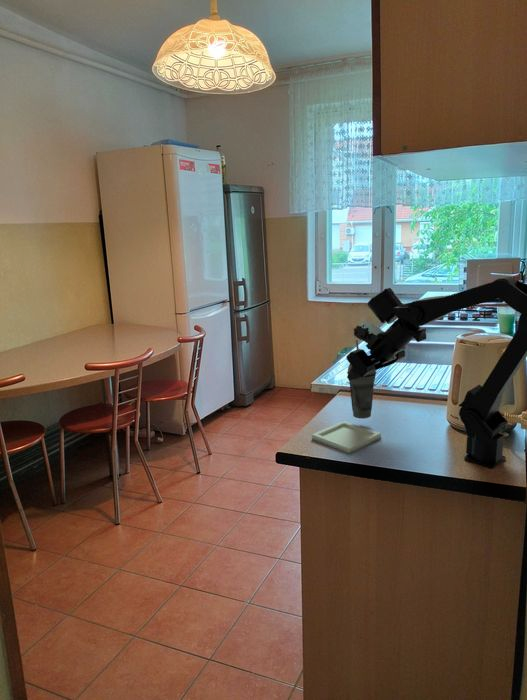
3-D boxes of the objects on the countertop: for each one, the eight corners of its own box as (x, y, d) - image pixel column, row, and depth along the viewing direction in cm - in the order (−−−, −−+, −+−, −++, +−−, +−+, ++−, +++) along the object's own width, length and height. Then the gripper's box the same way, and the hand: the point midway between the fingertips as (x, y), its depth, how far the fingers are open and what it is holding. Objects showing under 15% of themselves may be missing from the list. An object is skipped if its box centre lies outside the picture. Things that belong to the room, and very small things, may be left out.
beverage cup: (376, 420, 132) (376, 343, 127) (347, 420, 133) (346, 343, 129) (376, 410, 139) (375, 336, 134) (348, 410, 140) (347, 337, 135)
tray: (380, 438, 128) (380, 433, 128) (349, 453, 121) (349, 448, 120) (343, 425, 137) (343, 420, 137) (312, 439, 129) (311, 434, 129)
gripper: (394, 306, 133) (358, 343, 143) (352, 318, 120) (316, 358, 130) (423, 340, 130) (383, 375, 140) (382, 356, 117) (342, 394, 127)
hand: (356, 375), depth 134 cm, fingers closed on beverage cup, 7 cm apart
